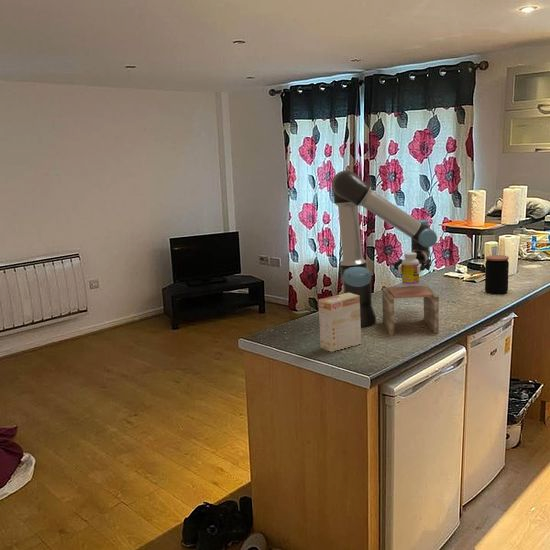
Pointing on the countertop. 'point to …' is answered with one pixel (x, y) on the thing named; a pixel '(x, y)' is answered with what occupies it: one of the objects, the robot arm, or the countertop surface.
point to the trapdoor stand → (429, 311)
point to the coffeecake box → (340, 321)
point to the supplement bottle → (410, 270)
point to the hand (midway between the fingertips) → (408, 270)
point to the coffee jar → (496, 274)
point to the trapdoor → (409, 292)
